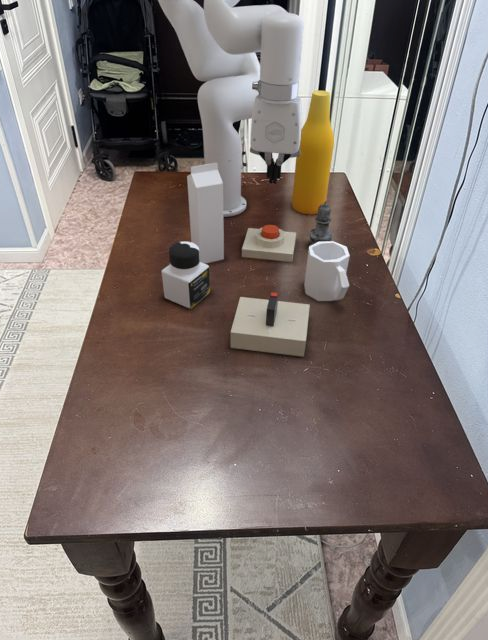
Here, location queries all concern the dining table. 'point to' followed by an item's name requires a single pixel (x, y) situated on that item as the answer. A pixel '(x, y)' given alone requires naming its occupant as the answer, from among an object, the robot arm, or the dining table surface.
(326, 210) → the gray chess piece
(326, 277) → the mug
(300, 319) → the beige flat block
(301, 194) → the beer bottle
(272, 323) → the knob
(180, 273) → the medicine bottle
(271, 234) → the button
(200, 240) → the milk
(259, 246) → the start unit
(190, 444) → the dining table surface
